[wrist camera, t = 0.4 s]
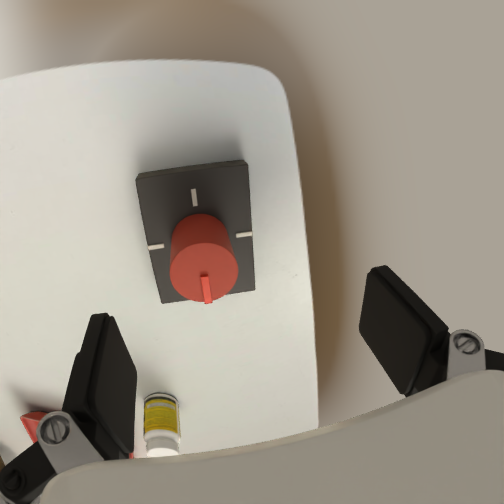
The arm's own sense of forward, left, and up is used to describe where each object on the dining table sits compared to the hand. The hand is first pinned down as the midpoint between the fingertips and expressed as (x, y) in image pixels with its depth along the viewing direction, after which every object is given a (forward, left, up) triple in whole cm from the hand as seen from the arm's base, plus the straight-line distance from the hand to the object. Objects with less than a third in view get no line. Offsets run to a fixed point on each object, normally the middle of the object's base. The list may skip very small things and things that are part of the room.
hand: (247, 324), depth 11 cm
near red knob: (+4, -1, -16) cm, 17 cm away
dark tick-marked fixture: (+4, -1, -18) cm, 19 cm away
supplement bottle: (+28, -10, -18) cm, 35 cm away
